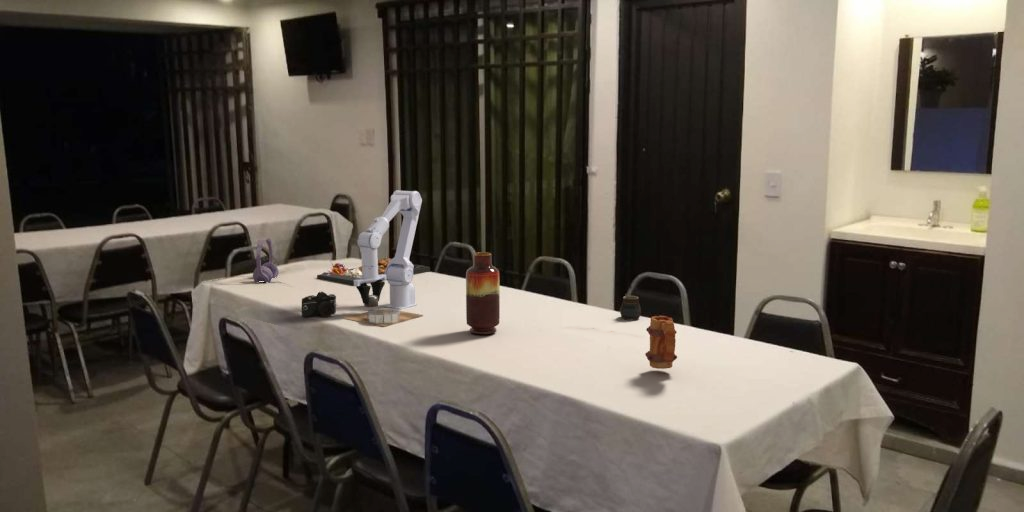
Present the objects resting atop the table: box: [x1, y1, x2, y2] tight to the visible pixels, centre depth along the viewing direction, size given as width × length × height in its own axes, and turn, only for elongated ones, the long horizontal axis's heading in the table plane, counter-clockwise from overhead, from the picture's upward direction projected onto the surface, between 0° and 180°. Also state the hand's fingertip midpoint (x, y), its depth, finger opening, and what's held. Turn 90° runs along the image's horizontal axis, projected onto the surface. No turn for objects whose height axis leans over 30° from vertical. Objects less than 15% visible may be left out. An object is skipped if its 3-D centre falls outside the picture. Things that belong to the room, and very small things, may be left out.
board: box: [342, 310, 424, 328], centre depth 293 cm, size 20×20×1 cm
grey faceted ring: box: [366, 307, 401, 324], centre depth 287 cm, size 11×11×3 cm
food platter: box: [316, 257, 431, 287], centre depth 366 cm, size 45×25×10 cm, turn 143°
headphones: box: [252, 237, 279, 283], centre depth 357 cm, size 18×8×20 cm, turn 179°
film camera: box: [301, 291, 338, 318], centre depth 293 cm, size 13×8×10 cm, turn 130°
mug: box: [645, 315, 678, 370], centre depth 229 cm, size 15×8×15 cm, turn 5°
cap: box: [363, 294, 379, 308], centre depth 297 cm, size 5×5×4 cm
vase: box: [465, 251, 501, 335], centre depth 272 cm, size 11×11×26 cm
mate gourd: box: [619, 293, 642, 320], centre depth 289 cm, size 7×8×10 cm
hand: (371, 302), depth 297 cm, fingers closed on cap, 5 cm apart
